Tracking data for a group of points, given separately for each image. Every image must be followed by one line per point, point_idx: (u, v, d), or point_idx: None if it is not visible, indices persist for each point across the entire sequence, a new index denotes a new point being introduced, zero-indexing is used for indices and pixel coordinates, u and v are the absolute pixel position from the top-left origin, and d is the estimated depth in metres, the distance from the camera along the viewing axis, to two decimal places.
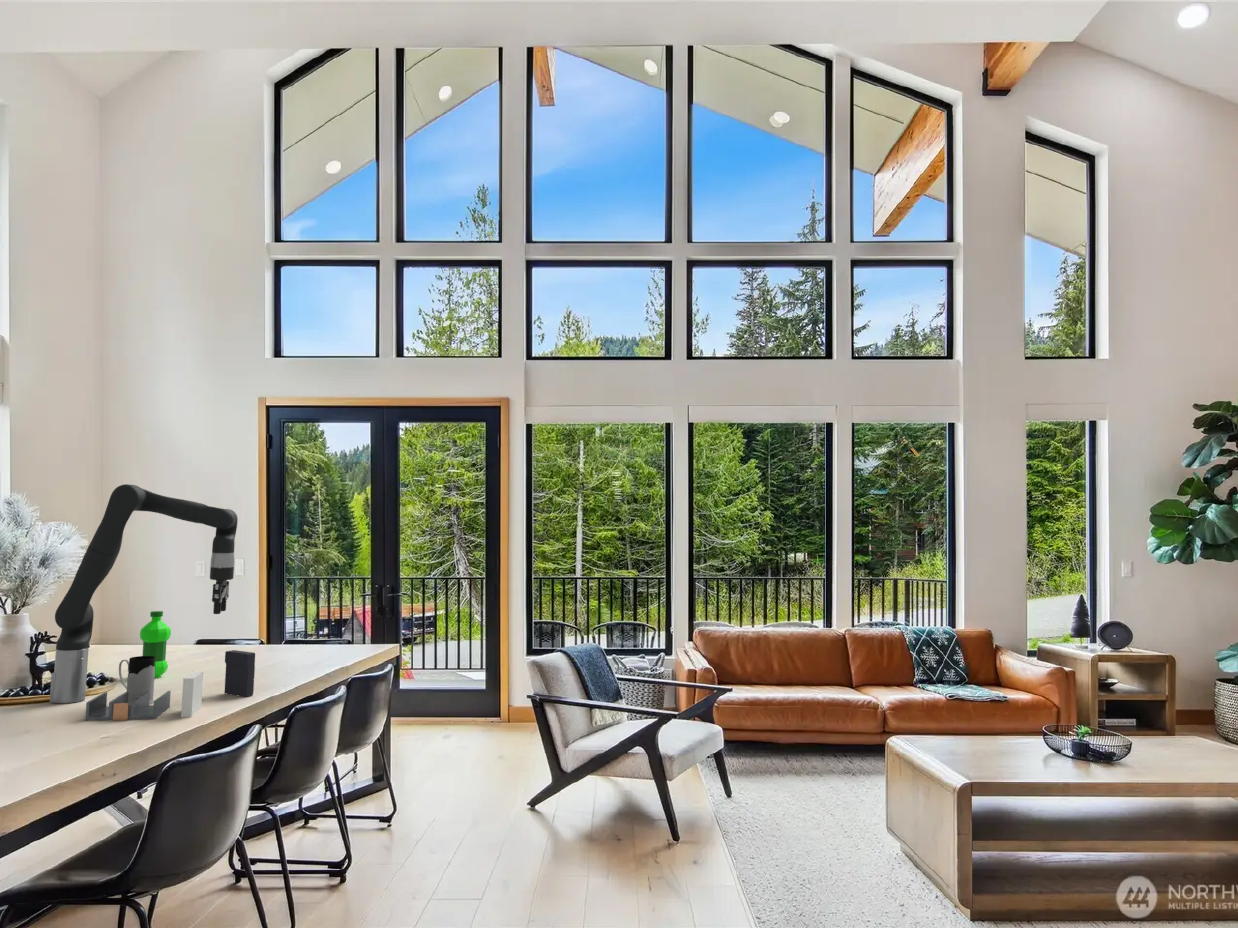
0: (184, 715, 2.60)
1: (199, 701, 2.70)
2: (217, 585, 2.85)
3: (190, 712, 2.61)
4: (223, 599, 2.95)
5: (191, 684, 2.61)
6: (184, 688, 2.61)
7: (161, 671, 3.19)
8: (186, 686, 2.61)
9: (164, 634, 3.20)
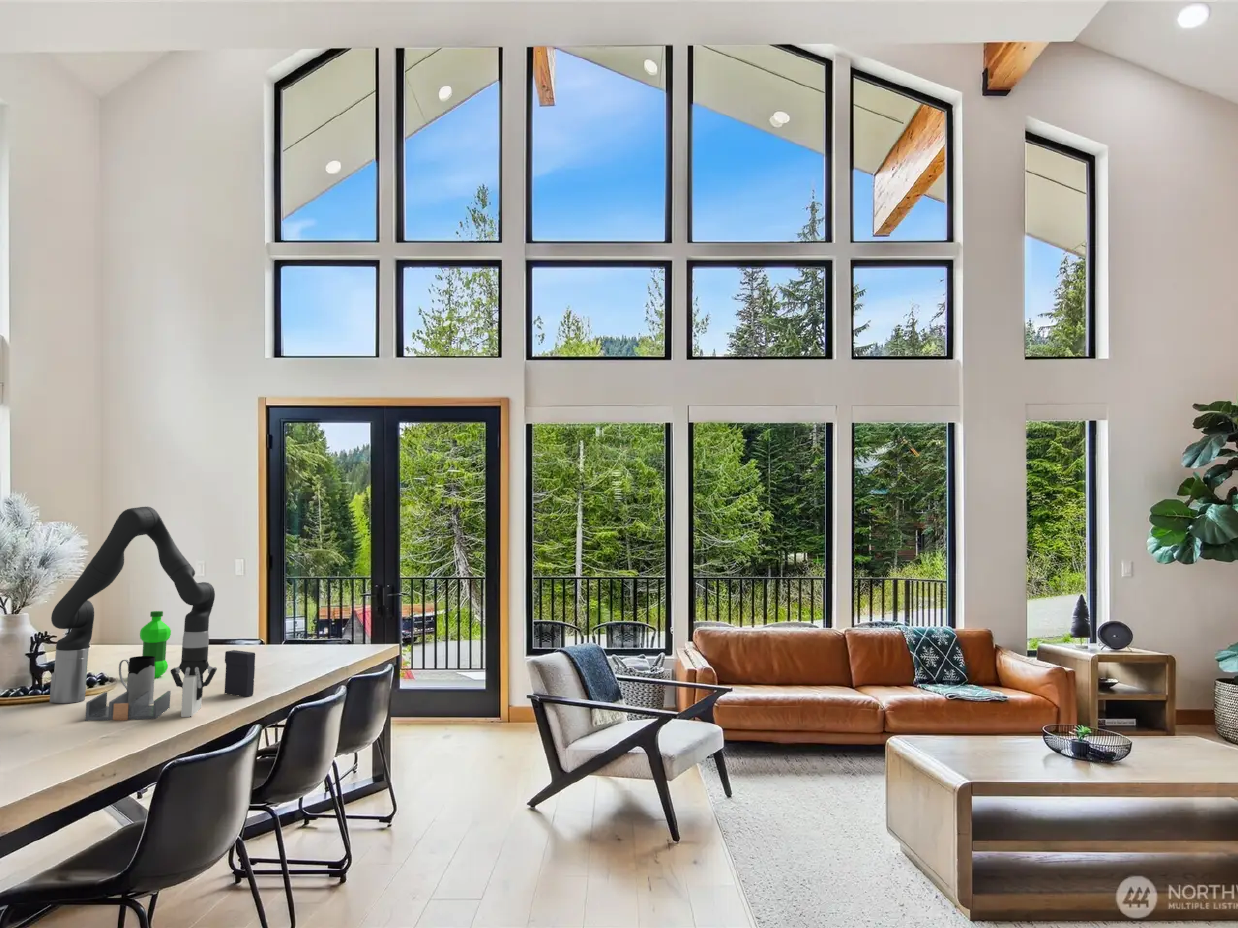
0: (184, 715, 2.60)
1: (199, 701, 2.70)
2: (215, 669, 2.69)
3: (190, 712, 2.61)
4: None
5: (191, 684, 2.61)
6: (184, 688, 2.61)
7: (161, 671, 3.19)
8: (186, 685, 2.61)
9: (164, 634, 3.20)
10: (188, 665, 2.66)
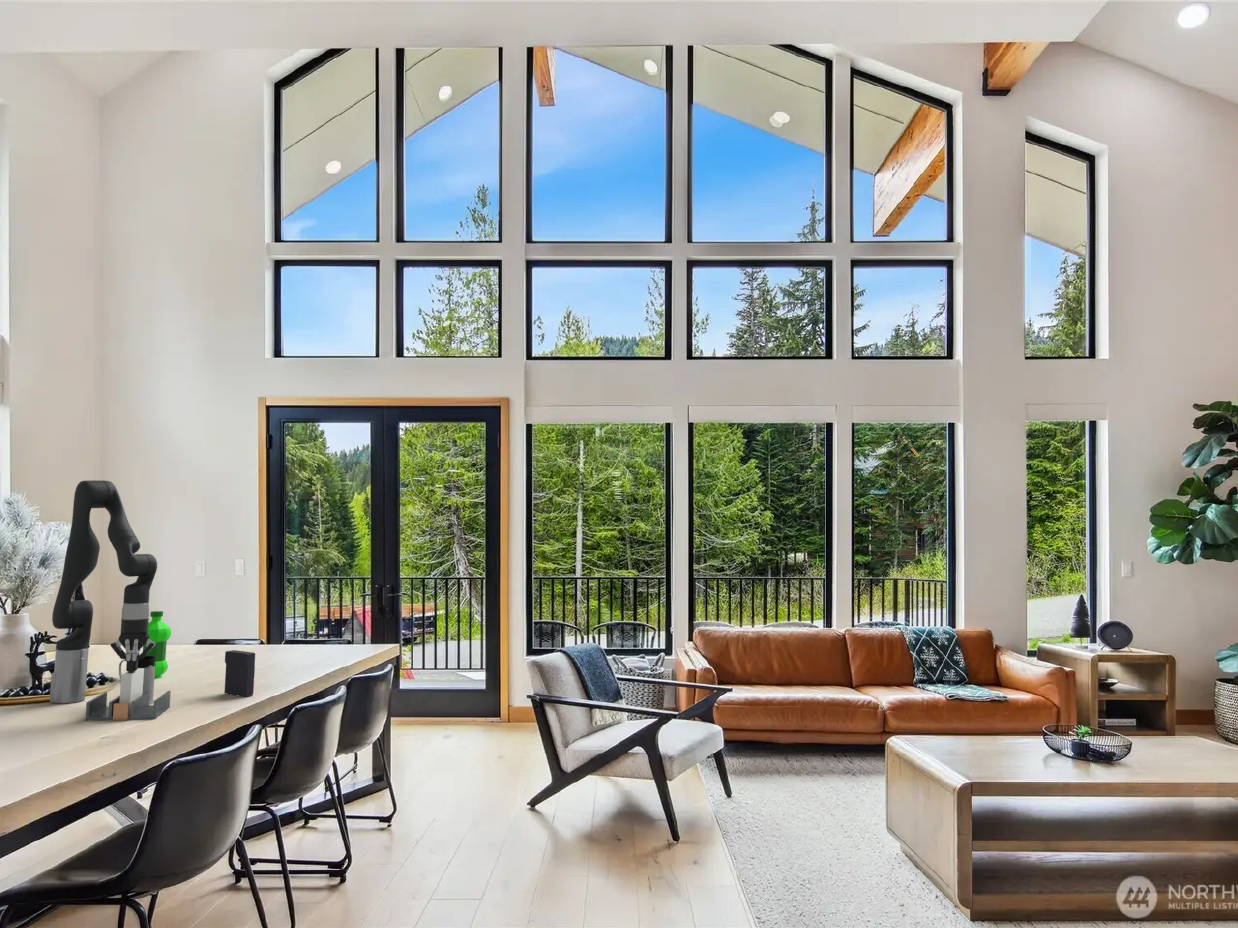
0: None
1: None
2: (154, 644, 2.65)
3: None
4: None
5: (130, 681, 2.58)
6: (122, 685, 2.58)
7: (161, 671, 3.19)
8: (124, 682, 2.58)
9: (164, 634, 3.20)
10: (127, 637, 2.62)
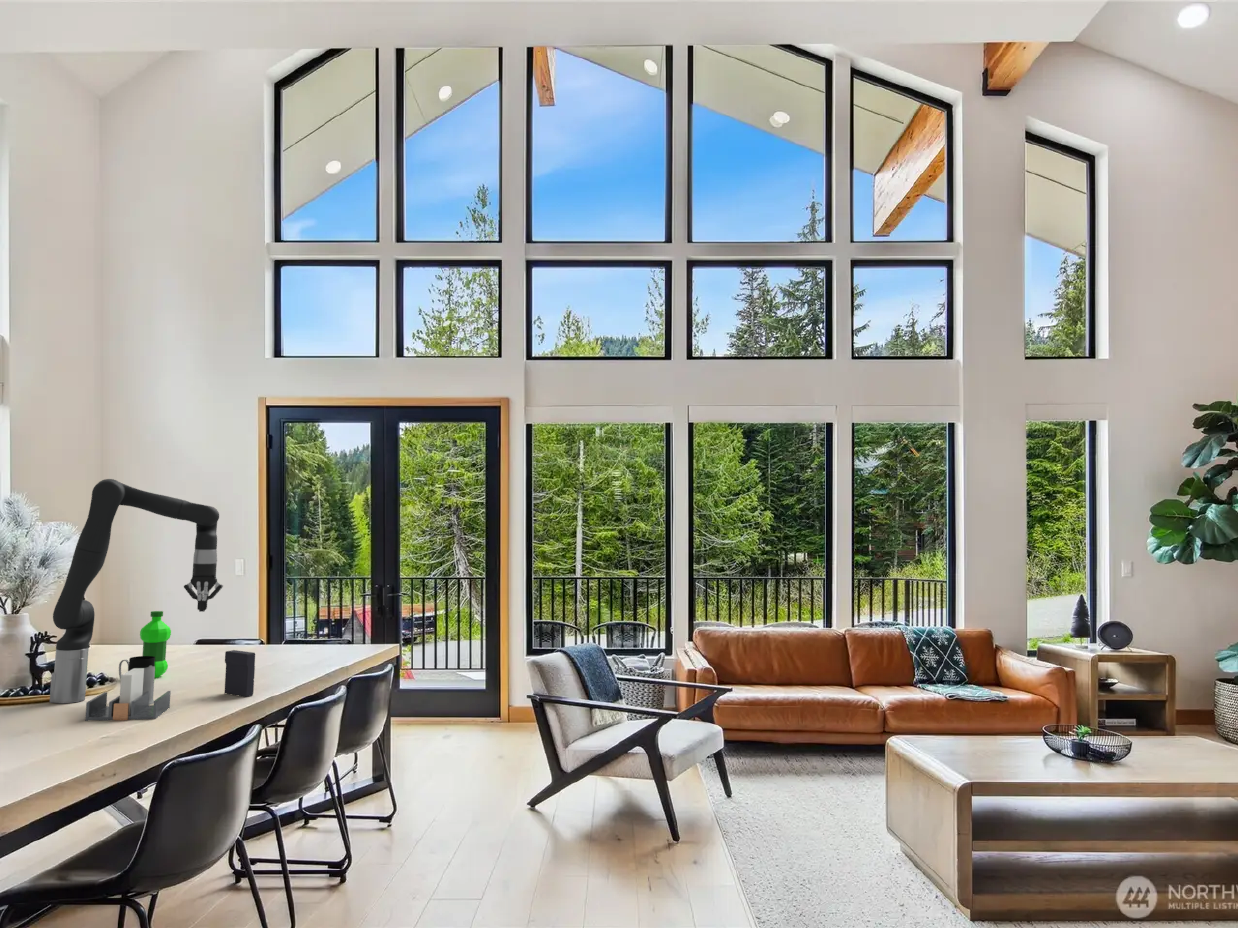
0: None
1: None
2: (221, 587, 2.97)
3: None
4: (202, 598, 2.95)
5: (129, 681, 2.58)
6: (122, 685, 2.58)
7: (161, 671, 3.19)
8: (124, 682, 2.58)
9: (164, 634, 3.20)
10: (198, 580, 2.94)
